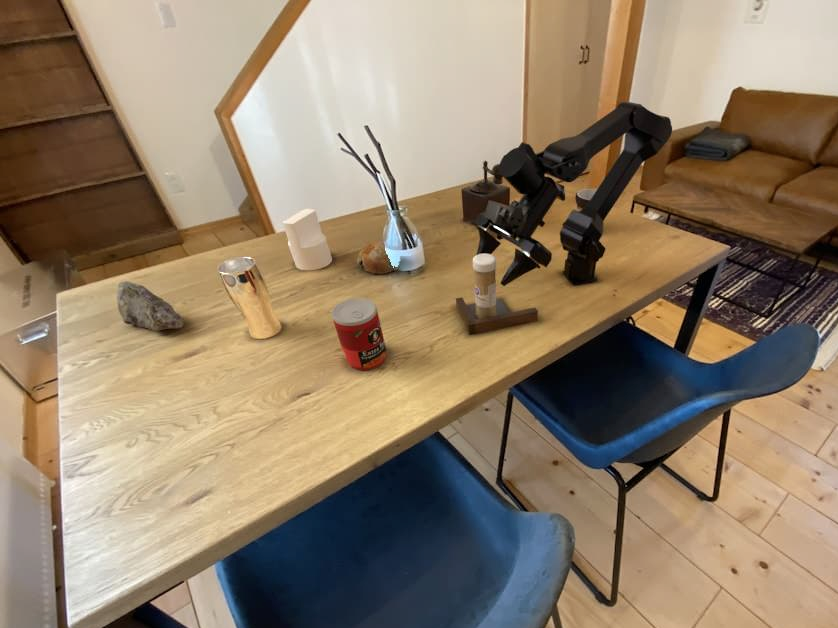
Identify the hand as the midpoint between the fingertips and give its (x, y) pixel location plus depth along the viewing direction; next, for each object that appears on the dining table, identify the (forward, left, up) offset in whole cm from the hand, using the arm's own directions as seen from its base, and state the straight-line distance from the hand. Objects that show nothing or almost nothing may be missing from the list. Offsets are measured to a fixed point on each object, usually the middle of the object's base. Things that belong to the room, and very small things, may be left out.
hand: (488, 275), depth 87 cm
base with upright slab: (+36, -38, -10) cm, 53 cm away
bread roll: (+20, -30, -10) cm, 37 cm away
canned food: (+27, +6, -10) cm, 29 cm away
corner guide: (-1, 0, -10) cm, 10 cm away
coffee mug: (-40, -33, -10) cm, 53 cm away
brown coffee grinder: (-15, -46, -10) cm, 50 cm away
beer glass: (+46, -10, -10) cm, 48 cm away
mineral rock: (+68, -19, -10) cm, 71 cm away
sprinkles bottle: (+1, 0, -10) cm, 10 cm away
